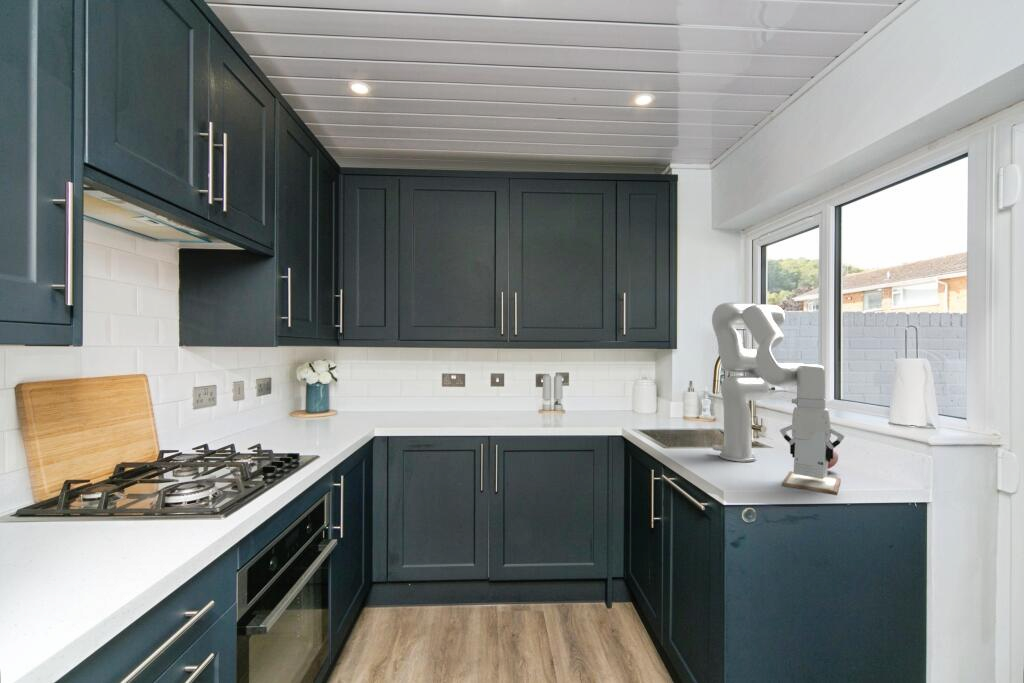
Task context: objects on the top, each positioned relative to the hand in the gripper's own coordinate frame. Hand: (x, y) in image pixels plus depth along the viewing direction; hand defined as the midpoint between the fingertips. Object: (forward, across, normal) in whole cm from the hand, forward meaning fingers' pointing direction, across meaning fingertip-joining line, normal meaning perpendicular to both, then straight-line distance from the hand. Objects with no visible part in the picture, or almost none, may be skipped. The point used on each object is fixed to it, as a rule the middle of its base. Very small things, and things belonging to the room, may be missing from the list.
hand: (811, 458), depth 146 cm
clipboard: (+8, 0, 0) cm, 8 cm away
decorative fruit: (+8, +1, +20) cm, 22 cm away
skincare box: (+5, 0, 0) cm, 5 cm away
